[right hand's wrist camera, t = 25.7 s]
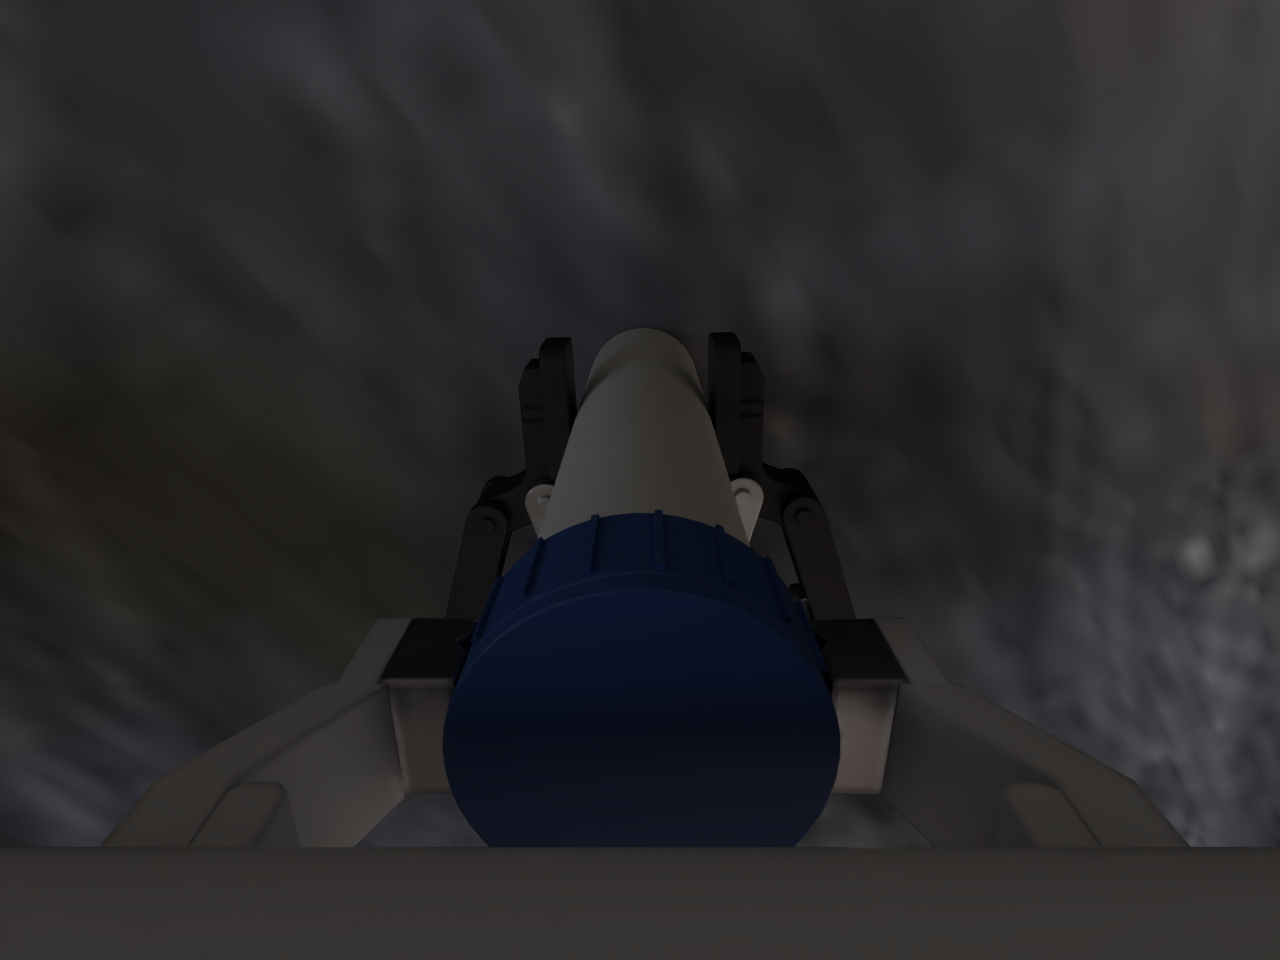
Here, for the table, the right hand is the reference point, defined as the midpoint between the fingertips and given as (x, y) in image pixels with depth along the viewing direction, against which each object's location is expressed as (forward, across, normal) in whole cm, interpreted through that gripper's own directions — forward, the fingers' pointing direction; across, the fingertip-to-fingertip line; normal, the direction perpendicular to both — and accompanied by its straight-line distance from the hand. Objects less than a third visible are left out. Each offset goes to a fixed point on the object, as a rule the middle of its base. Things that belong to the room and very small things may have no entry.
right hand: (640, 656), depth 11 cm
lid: (-2, 0, 0) cm, 2 cm away
